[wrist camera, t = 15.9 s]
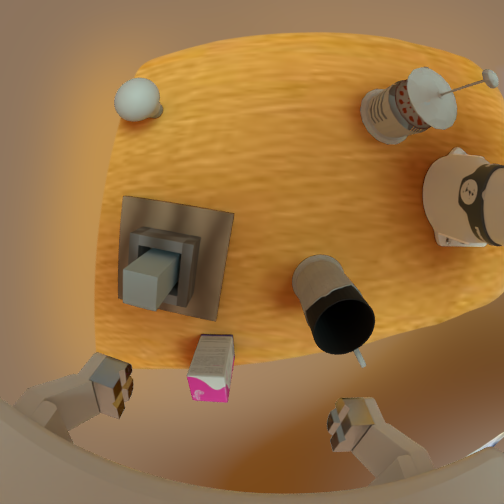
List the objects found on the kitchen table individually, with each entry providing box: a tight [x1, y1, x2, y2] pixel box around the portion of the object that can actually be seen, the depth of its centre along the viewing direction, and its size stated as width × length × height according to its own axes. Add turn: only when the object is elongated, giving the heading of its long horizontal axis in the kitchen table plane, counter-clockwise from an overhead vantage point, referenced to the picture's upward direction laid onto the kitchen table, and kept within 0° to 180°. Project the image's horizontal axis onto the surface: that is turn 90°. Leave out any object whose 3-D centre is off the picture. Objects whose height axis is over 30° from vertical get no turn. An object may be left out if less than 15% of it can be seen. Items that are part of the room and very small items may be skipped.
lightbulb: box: [114, 78, 163, 122], centre depth 31 cm, size 6×6×11 cm
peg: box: [123, 248, 182, 311], centre depth 36 cm, size 4×4×12 cm
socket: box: [118, 196, 234, 321], centre depth 40 cm, size 18×18×6 cm
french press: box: [360, 67, 498, 144], centre depth 23 cm, size 10×12×25 cm
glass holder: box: [292, 255, 375, 368], centre depth 36 cm, size 9×14×15 cm, turn 31°
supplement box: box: [187, 334, 235, 402], centre depth 41 cm, size 6×6×12 cm
